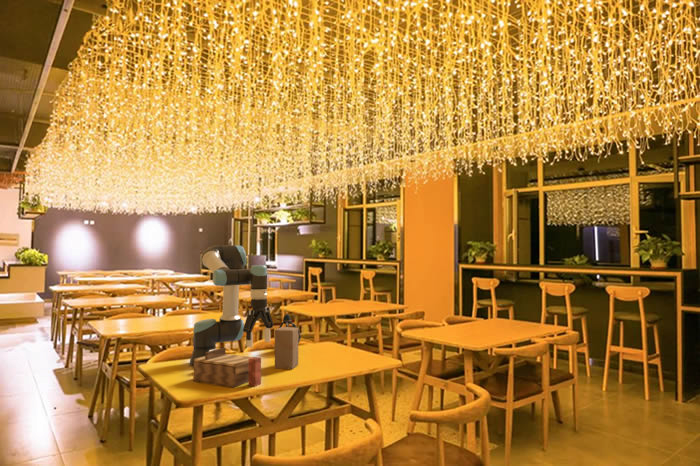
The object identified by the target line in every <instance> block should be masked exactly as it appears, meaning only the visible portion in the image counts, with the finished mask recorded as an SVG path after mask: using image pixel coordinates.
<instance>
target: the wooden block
mask: <svg viewBox="0 0 700 466" xmlns="http://www.w3.org/2000/svg"><path fill="white" fill-rule="evenodd" d="M298 329H299V328H298V327H297V328H296V327H291V326H288V327H286V326H282V327H281V328H279V327H278V328H276V329H274V339H275V340H274V369H276V370H277V369H280V370H294V368H296V367H298V366H299V343H298V338H299V335H298Z"/></svg>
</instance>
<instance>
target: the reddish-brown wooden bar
mask: <svg viewBox="0 0 700 466" xmlns="http://www.w3.org/2000/svg"><path fill="white" fill-rule="evenodd" d="M251 357H252V358H249V374H248V382H247V383H248V386H251V387H255V386H256V387H257V385H258V386H260V385H261V384H262V357H256V356H251Z"/></svg>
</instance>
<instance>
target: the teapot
mask: <svg viewBox="0 0 700 466" xmlns="http://www.w3.org/2000/svg"><path fill="white" fill-rule="evenodd" d="M289 324H290V325H291V326H292V327H296V328H298V326H297V325H296V324H295V323H294V322H292V318H291V316H290V314H288V313H286V314H284V316H283V318H282V322H281V323H280V325H279V327H278V328H281V327H283V325H285V327H289ZM301 337H302V335H301V332H300V329H299V328H298V344H299V343H300V342H301V339H302V338H301ZM274 341H275V338H274Z"/></svg>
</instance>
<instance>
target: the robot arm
mask: <svg viewBox="0 0 700 466" xmlns="http://www.w3.org/2000/svg"><path fill="white" fill-rule="evenodd" d="M246 253H247V252H246V251H245V248H244V247H243V246H242V245H236V244H234V245H233V244H231V245H230V244H229V245H219V244H217V245H212V246H209V247H208V248H206V249H205V250H204V251H203V252H202V254H201V257H200V260H201V263H202V265H203V266H204V267H205V268H207V269H208V270H209V271H210V272H211V273H212V283H213V285H214V286H217V287H218V286H219V287H223V289H222V290H223V293H222V314H221V316H220V317H219V320H216V319H215V318H207V319H202V320H199V321H196V322H195V323H194V324H193V330H192V332H193V350H192V353H191V356H190V359H189V365H190V366H191V367H194V362H196V361H194V359H196V358H199V357H203V356H205V353H206V352H209V350H212V349H217V348H216V347H217V346H216V345H217V343H228V342H235V341H240V340H241V339H242V338H243V335H244V333H245V334H246V348H253V347H254V346H253V345H254V342H253V339H254V337H253V336H254V335H253V334H254V333H253V329H254V327H255V325H256V324H257V321H258V320H260V319H261V321H262V323H263V324H264V326H265V328H264V342H265V343H271V334H272V333H271V329H273V326H274V321H273V318H272V315H271V311H270V307H268V298H267V297H268V268H267V267H268V266H267V265H266V264H264V265H263V264H260V265H259V264H258V265H257V264H256V265H255V264H254V265H251V266H250V268H246V269H245V268H244V269H243V267H245V266H246V265H247V254H246ZM249 285H250V307H251V308H252V309H251V310H250V309H248V310H247V315H246V319H245V321H244V320H243V319H242V316H241V315H240V314H239V304H240V303H239V302H240V300H239V299H240V286H249Z"/></svg>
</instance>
